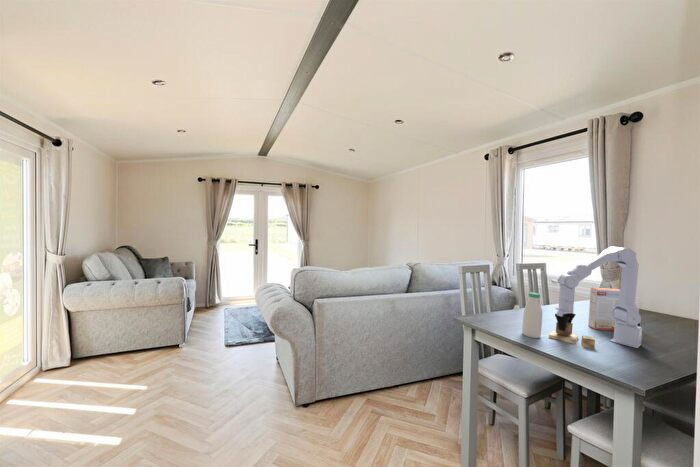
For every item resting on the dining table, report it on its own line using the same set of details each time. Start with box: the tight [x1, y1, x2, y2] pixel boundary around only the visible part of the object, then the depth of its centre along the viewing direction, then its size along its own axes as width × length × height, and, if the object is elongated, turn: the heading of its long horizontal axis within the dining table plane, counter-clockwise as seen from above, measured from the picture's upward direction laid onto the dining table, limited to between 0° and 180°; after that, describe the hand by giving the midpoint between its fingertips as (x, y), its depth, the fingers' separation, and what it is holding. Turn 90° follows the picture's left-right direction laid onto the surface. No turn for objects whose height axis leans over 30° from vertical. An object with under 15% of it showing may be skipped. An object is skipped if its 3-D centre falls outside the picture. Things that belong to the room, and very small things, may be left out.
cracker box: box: [587, 287, 620, 332], centre depth 167 cm, size 14×6×21 cm, turn 84°
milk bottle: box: [521, 291, 543, 339], centre depth 151 cm, size 8×8×20 cm
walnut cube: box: [555, 321, 573, 336], centre depth 150 cm, size 5×5×5 cm
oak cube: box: [580, 334, 596, 350], centre depth 141 cm, size 4×4×4 cm
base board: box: [548, 329, 579, 345], centre depth 150 cm, size 10×10×2 cm
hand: (564, 329), depth 150 cm, fingers closed on walnut cube, 5 cm apart
